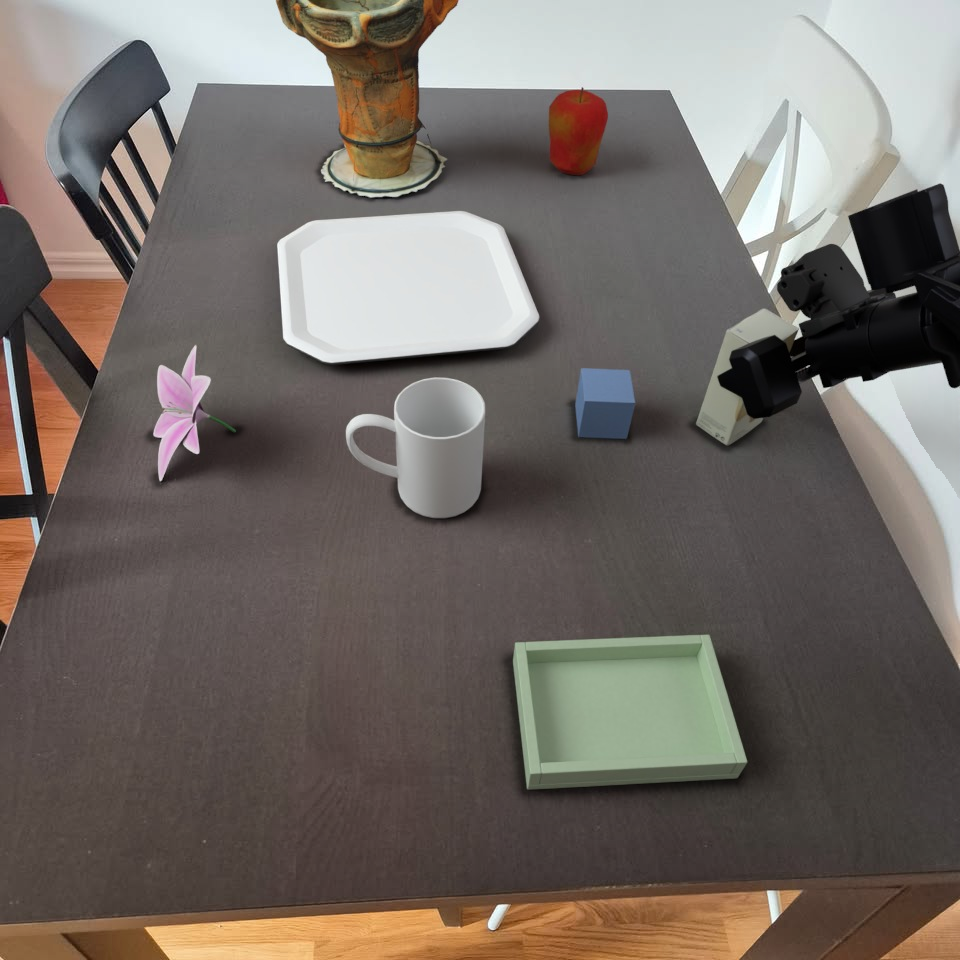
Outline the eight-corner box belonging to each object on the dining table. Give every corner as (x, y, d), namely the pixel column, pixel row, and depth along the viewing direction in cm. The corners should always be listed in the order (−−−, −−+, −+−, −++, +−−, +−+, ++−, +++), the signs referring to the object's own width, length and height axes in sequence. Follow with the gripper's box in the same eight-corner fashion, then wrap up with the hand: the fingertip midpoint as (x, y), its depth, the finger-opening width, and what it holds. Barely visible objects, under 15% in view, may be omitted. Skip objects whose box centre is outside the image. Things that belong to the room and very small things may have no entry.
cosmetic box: (727, 448, 85) (761, 353, 76) (693, 425, 87) (723, 330, 78) (764, 421, 88) (802, 326, 79) (731, 399, 90) (764, 305, 81)
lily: (181, 398, 88) (115, 352, 80) (276, 373, 84) (217, 322, 76) (168, 502, 83) (95, 464, 75) (268, 481, 79) (204, 438, 71)
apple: (535, 157, 126) (543, 76, 117) (587, 152, 127) (599, 72, 119) (554, 185, 120) (563, 102, 112) (608, 179, 122) (621, 98, 113)
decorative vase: (300, 136, 127) (273, -78, 107) (450, 135, 130) (452, -75, 109) (293, 206, 113) (261, -25, 93) (461, 203, 116) (467, -23, 95)
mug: (474, 455, 83) (478, 373, 75) (486, 515, 77) (492, 434, 70) (350, 465, 81) (341, 383, 73) (355, 528, 76) (345, 446, 68)
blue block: (622, 406, 88) (630, 369, 85) (626, 439, 85) (635, 402, 81) (575, 404, 88) (581, 367, 85) (578, 437, 85) (584, 400, 81)
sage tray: (701, 652, 68) (709, 634, 66) (737, 778, 61) (748, 762, 59) (512, 660, 67) (515, 641, 65) (527, 790, 60) (530, 774, 58)
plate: (287, 381, 89) (284, 365, 87) (277, 236, 108) (275, 221, 106) (548, 356, 94) (550, 340, 92) (495, 221, 113) (496, 206, 111)
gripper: (936, 208, 69) (794, 259, 84) (781, 271, 62) (654, 315, 76) (973, 335, 71) (827, 363, 85) (826, 411, 64) (693, 428, 78)
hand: (753, 365), depth 81 cm, fingers open, 9 cm apart
